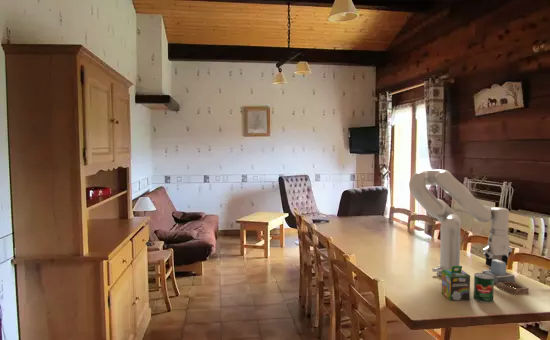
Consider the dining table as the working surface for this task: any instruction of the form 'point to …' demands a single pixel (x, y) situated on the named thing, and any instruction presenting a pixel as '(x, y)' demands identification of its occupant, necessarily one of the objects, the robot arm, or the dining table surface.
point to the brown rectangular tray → (515, 291)
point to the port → (500, 277)
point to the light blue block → (498, 267)
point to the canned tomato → (483, 287)
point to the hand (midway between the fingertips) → (496, 264)
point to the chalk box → (456, 284)
